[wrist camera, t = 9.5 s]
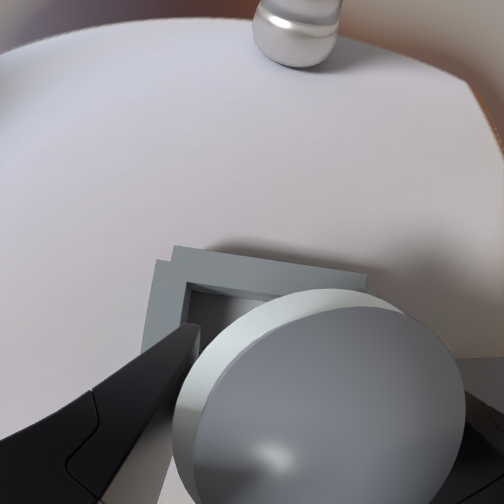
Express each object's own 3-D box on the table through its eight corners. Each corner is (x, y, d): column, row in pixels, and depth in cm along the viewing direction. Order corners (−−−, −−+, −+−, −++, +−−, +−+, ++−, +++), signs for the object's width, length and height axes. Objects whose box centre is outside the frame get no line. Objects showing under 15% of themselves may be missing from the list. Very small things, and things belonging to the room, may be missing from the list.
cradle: (339, 439, 14) (357, 453, 11) (145, 420, 13) (132, 434, 11) (357, 285, 16) (378, 275, 14) (169, 257, 16) (160, 243, 13)
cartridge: (316, 386, 15) (501, 449, 3) (235, 431, 14) (274, 607, 2) (272, 307, 16) (405, 217, 4) (188, 351, 14) (88, 385, 3)
